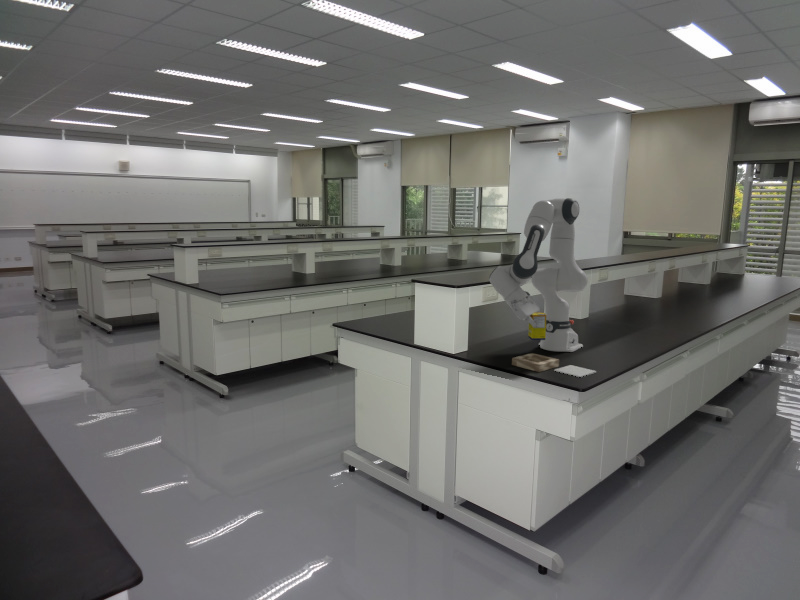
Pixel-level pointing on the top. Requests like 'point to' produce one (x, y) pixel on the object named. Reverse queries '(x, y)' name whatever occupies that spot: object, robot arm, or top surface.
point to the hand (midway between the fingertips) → (538, 324)
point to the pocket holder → (535, 362)
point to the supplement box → (538, 326)
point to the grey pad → (575, 371)
